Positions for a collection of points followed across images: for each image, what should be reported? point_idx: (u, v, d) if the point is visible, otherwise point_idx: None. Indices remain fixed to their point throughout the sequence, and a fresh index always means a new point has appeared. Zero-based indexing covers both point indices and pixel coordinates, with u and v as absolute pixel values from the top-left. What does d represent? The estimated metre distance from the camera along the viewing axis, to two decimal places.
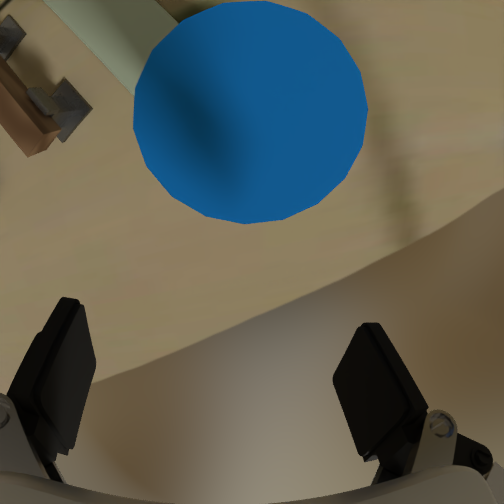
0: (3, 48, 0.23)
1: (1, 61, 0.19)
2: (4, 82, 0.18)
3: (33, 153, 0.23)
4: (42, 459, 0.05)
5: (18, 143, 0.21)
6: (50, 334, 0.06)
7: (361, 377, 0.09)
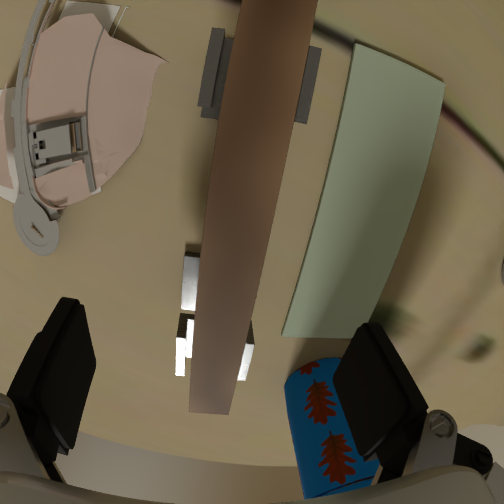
0: None
1: None
2: None
3: None
4: (42, 459, 0.05)
5: (192, 398, 0.19)
6: (50, 334, 0.06)
7: (361, 377, 0.09)
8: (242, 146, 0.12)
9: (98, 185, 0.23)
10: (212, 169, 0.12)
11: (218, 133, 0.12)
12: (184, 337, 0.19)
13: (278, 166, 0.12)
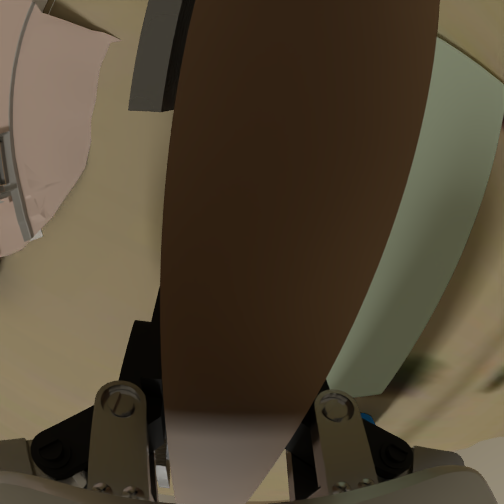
0: None
1: None
2: None
3: None
4: (154, 444, 0.06)
5: None
6: None
7: None
8: (251, 245, 0.04)
9: (35, 230, 0.14)
10: (163, 310, 0.04)
11: (169, 207, 0.03)
12: (164, 464, 0.11)
13: (352, 293, 0.04)
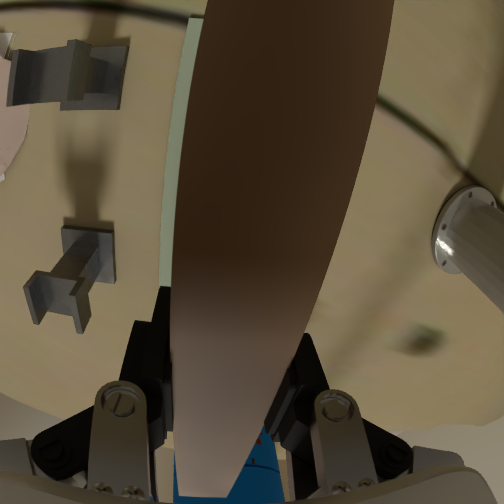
0: None
1: None
2: None
3: None
4: (154, 444, 0.06)
5: (182, 489, 0.13)
6: (163, 319, 0.08)
7: None
8: (241, 207, 0.05)
9: (0, 174, 0.23)
10: (174, 259, 0.05)
11: (182, 179, 0.05)
12: (28, 286, 0.19)
13: (321, 249, 0.06)
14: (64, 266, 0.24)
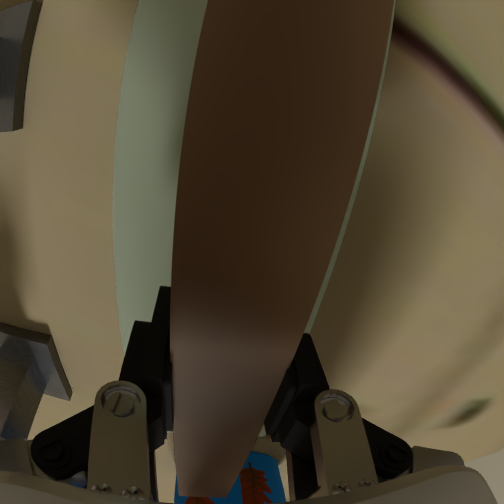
0: None
1: None
2: None
3: None
4: (154, 444, 0.06)
5: (182, 489, 0.13)
6: (163, 319, 0.08)
7: None
8: (240, 208, 0.05)
9: None
10: (174, 259, 0.05)
11: (182, 179, 0.05)
12: None
13: (321, 249, 0.06)
14: None
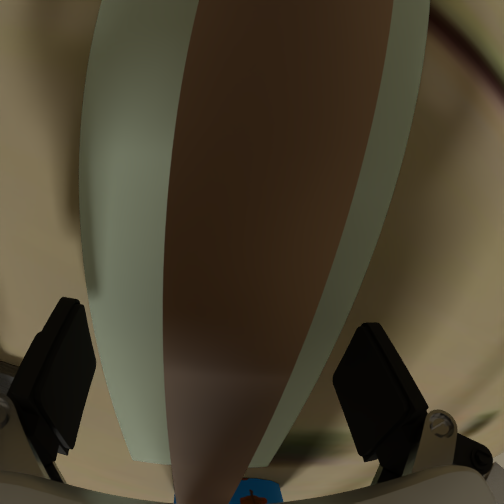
0: None
1: None
2: None
3: None
4: (42, 459, 0.05)
5: (180, 501, 0.12)
6: (50, 334, 0.06)
7: (361, 377, 0.09)
8: (236, 208, 0.05)
9: None
10: (166, 264, 0.05)
11: (174, 177, 0.04)
12: None
13: (322, 253, 0.05)
14: None
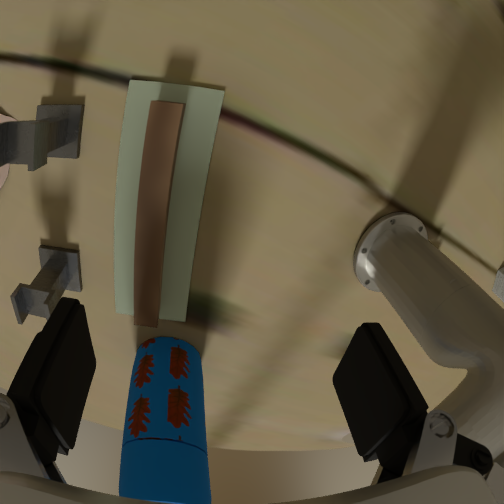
0: None
1: (167, 221, 0.33)
2: (160, 267, 0.33)
3: None
4: (42, 460, 0.05)
5: (135, 313, 0.34)
6: (50, 334, 0.06)
7: (361, 377, 0.09)
8: (150, 178, 0.27)
9: None
10: (139, 188, 0.27)
11: (140, 173, 0.27)
12: (14, 296, 0.25)
13: (166, 186, 0.28)
14: (41, 279, 0.29)
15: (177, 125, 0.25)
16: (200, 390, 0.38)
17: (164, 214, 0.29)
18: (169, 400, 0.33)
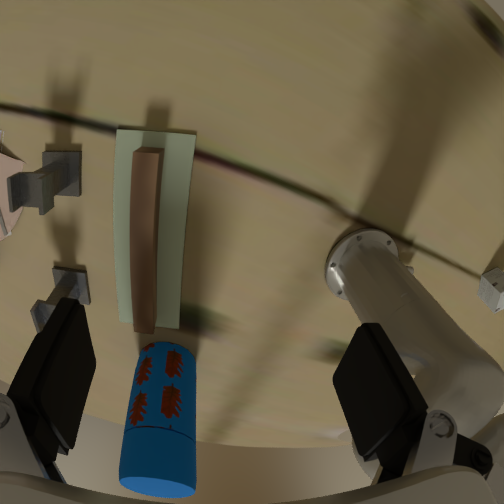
0: None
1: (156, 246, 0.39)
2: (152, 285, 0.39)
3: None
4: (42, 460, 0.05)
5: (134, 322, 0.41)
6: (50, 334, 0.06)
7: (361, 377, 0.09)
8: (138, 214, 0.34)
9: (8, 231, 0.35)
10: (130, 222, 0.34)
11: (130, 210, 0.33)
12: (33, 310, 0.32)
13: (151, 220, 0.34)
14: (55, 296, 0.36)
15: (155, 171, 0.32)
16: (192, 388, 0.45)
17: (151, 243, 0.36)
18: (163, 395, 0.39)
